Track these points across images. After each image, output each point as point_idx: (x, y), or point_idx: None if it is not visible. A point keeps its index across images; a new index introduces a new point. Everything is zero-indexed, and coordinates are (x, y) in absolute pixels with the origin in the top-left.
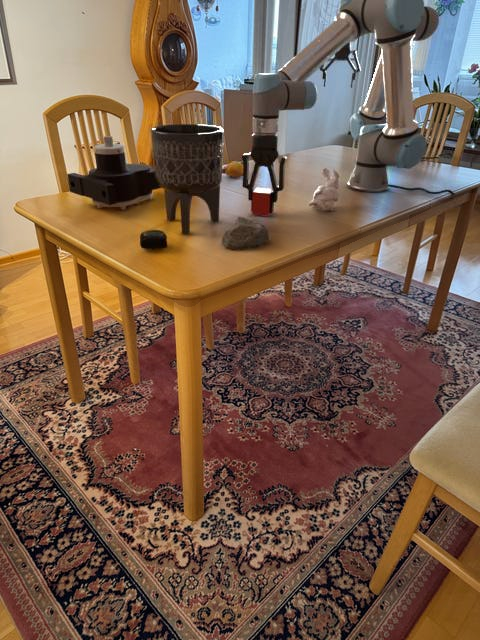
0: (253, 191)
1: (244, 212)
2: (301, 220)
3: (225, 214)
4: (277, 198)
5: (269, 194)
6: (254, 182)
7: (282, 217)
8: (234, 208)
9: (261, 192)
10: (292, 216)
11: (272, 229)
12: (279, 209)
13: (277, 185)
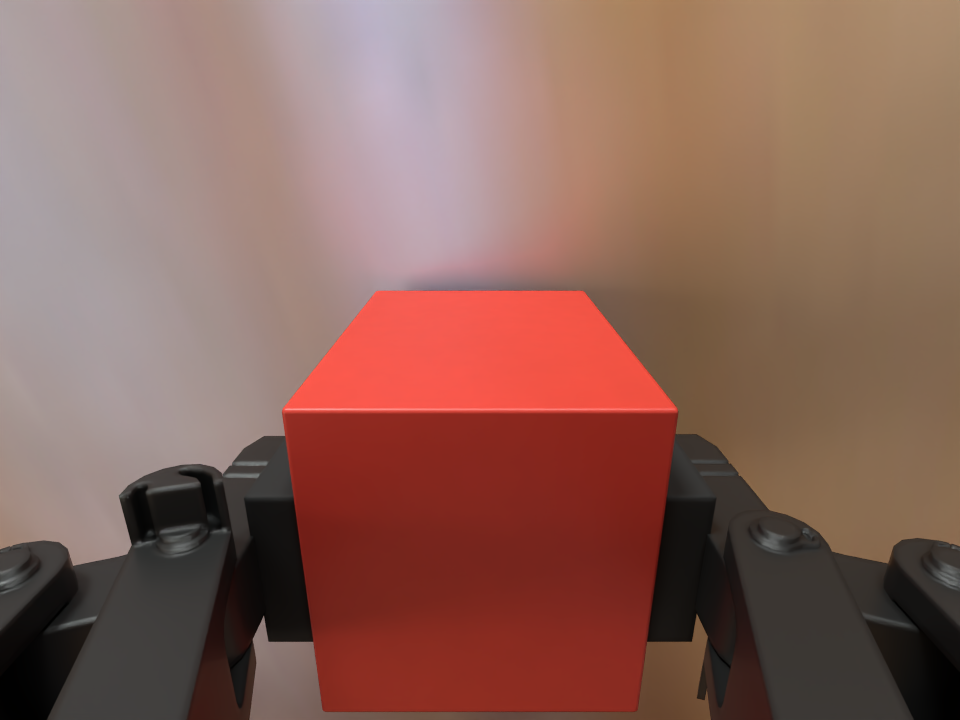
0: (322, 684)
1: (265, 369)
2: (918, 440)
3: (110, 494)
4: (726, 462)
5: (632, 693)
6: (222, 715)
7: (714, 408)
8: (82, 252)
9: (483, 701)
10: (828, 339)
11: (647, 716)
12: (656, 90)
13: (850, 608)
